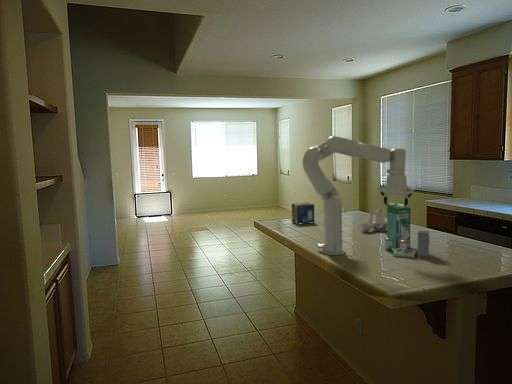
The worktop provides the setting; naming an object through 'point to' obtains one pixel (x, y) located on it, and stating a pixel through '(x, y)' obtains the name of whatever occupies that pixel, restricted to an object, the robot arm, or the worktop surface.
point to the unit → (423, 244)
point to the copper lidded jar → (404, 246)
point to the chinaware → (378, 224)
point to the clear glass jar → (388, 243)
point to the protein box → (302, 213)
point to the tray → (407, 255)
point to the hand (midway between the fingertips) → (395, 205)
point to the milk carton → (398, 223)
